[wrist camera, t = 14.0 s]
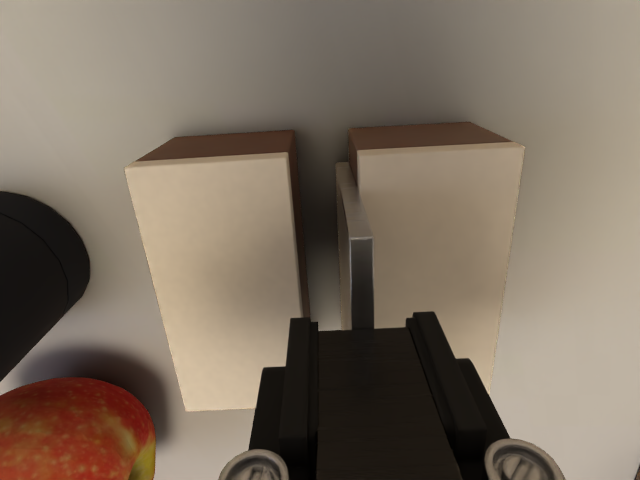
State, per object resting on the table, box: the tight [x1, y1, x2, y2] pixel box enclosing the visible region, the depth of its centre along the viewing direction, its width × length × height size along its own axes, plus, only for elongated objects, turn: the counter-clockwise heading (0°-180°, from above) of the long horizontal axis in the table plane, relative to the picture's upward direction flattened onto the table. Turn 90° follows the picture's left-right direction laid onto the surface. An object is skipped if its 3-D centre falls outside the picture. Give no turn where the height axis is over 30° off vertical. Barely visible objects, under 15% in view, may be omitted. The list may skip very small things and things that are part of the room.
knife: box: [315, 162, 463, 480], centre depth 13 cm, size 8×2×13 cm, turn 3°
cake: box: [124, 130, 311, 412], centre depth 17 cm, size 10×5×5 cm, turn 3°
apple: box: [0, 377, 156, 480], centre depth 20 cm, size 8×8×8 cm
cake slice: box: [348, 122, 525, 394], centre depth 17 cm, size 10×5×5 cm, turn 3°
